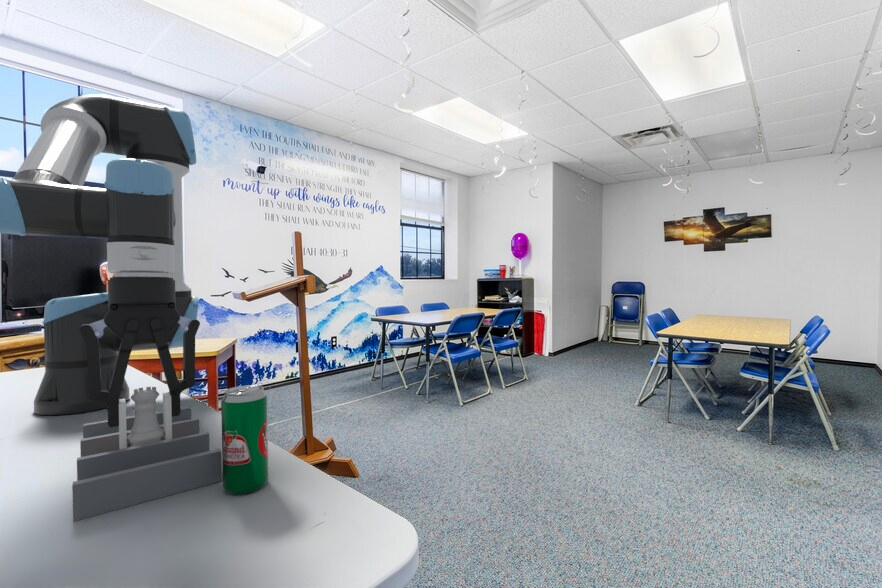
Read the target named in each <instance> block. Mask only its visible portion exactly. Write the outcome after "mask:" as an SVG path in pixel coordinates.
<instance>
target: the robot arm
mask: <svg viewBox="0 0 882 588" xmlns="http://www.w3.org/2000/svg"><path fill="white" fill-rule="evenodd" d="M40 130H41V134H40V135H39V137H38V138H37V140H36V141H35V143H34V145H33V147H32V148H31V149H30V151H29V153H28V154H27V156H26V157H25V158H24V160H23V162H22V163H21V165H20V167H19V169H17V172H16V173H15V174H14V176H13V177H12V178H7V177H5V176H2V177H0V234H8V235H17V236H20V237H26V236H34V237H35V236H38V237H63V238H64V237H66V238H68V237H69V238H89V239H106V240H107V241H106V251H107V252H106V253H107V255H106V256H107V259H106V260H107V272H108V273H110V274H113V275H112V277H110V278H109V279H107V292H101V293H100V292H99V293H90V294H82V295H73V296H65V297H64V296H63V297H56V298H52V299H50V300H48V301H47V302H46V304H45V305H44V310H43V311H44V313H43V321H42V325H43V335H44V336H43V337H44V341H43V342H44V344H43V345H44V364H45V365H44V367H45V368H44V375H43V377H42V379H41V382H40V384H39V388H38V390H37V392H36V395H35V397H34V400H33V413H34V414H37V415H45V416H59V415H69V414H79V413H85V412H86V413H87V412H92V411H97V410H101V409H106V408H107V420H108V425H109V427H116V426H119V449H124V448H127V432H126V417H127V401H128V400H130V398H131V396H130V386H129V385H128V382H127V379H126V378H125V376H126V373H127V369H128V365H129V361H130V358H131V353H132V352H135V351H151V350H156V351H157V353H158V358H159V360H160V365H161V367H162V371H163V374H164V377H165V380H166V381H165V382H166V384H167V388H168V392H162V411H163V428H164V433H165V434H164V438H165V440H169V439H172V417H174V416H179V414H180V412H181V408H182V407H181V395H182V392H183V391H186V390H187V389H192V388H193V387H195V384H196V335H197V332H198V330H199V328H200V326H201V321H199V320H198V319H197V318H198V309H199V301H200V299H199V298H198V297H197V296H195V295H193V296H192V288H190V286H188V285H187V284H186V282H185V281H184V278H185V277H184V239H183V238H184V235H183V233H184V230H183V228H184V227H183V183H182V181H183V177H185V176H186V175H187V174H189V173H190V166H193V165H196V164H197V154H196V153H197V152H196V146H195V137H194V132H193V127H192V122H191V119H190V116H189V115H188V113H187V112H185V110H184V111H183V110H182V109H178V108H173V107H169V106H166V105H164V104H162V105H159V104H156V103H155V104H154V103H149V102H143V101H137V100H132V99H127V98H122V97H115V96H111V95H107V94H85V95H79V96H76V97H75V96H74V97H71V98H68V99H65V100H62V101H59V102H58V103H55V104H54V105H52V106H51V107H49V108H48V110H46V112H45V113H44V114H43V116H42V118H41V120H40ZM101 153H102V154H103V153H104V154H112V155H117V156H124V157H125V158H115V159H112V160H110V161H109V162H108V163H107V164H106V169H105V181H104V183H103V185H104V187H105V188H104V187H94V186H93V187H91V186H84V184H85V182H86V179H87V177H88V174H89V172H90V168H91V166H92V164H93V161H94V159H95V157H96V156H98V155H100V154H101ZM177 348H182V379H181V380H179V379H178V374H177V372H176V369H175V365H174V363H173V359H172V356H171V352H170V350H171V349H177ZM129 397H130V398H129ZM126 400H127V401H126Z"/></svg>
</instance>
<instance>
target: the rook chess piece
mask: <svg viewBox="0 0 882 588" xmlns="http://www.w3.org/2000/svg"><path fill="white" fill-rule="evenodd" d="M159 396H160V393H159V392H158V391H157V387H156V386H152V387H151V386H146V389H144V388H143V387H138V388H135V389H133V393H132V395H131V396H130V399H131V400H132V401H133V402H134V406H133V407H132V409H133V410H134V416H135V418H134V425H133V428H132V430H131V433H130V434H129V435H128V437H127V442H129V444H128V445H127V448H129V447H134V446H139V445H144V444H149V443H154V442H159V441H164V440H165V438H163V435H164V434H165V433H164V431H163V429H161V426H160V425H159V424H158V420H157V415H156V412H157V407H158V403H157V402H156V401H157V399H158V397H159Z"/></svg>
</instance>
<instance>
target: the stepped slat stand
mask: <svg viewBox="0 0 882 588" xmlns="http://www.w3.org/2000/svg"><path fill="white" fill-rule="evenodd" d="M180 408H181V412H180V414H179V416H174V417H172V439H169V440H164V441H159V442H154V443H149V444H144V445H139V446H134V447H129V448H124V449H119V426H116V427H109V425H108V419H107V420H106V419H105V420H101V421H94V422H87V423H83V425H82V429H83V430H82V435H83V438H80V441H79V443H80V449H79V450H80V457H77V458H76V481H72V485H71V486H72V488H71V489H72V491H71V492H72V522H75V521H80V520H83V519H87V518H90V517H95V516H98V515H101V514H105V513H110V512H113V511H117V510H120V509H124V508H127V507H132V506H135V505H138V504H142V503H146V502H149V501H153V500H156V499H159V498H160V499H161V498H163V497H167V496H172V495H175V494H179V493H182V492H186V491H190V490H193V489H196V488H200V487H204V486H208V485H212V484H215V483H219V482H223V479H222V449H220V448H216V449H213V450H210V432H209V431H205V432H200V429H201V428H200V418H199V417H196V418H192V407H191V406H187V407H180ZM156 415H157V420H158V424H159V425H160V426H161V429H163V431H164V428H163V410H161V411H156ZM134 418H135V415H131V416H130V415H129V416H126V432H127V437H128V435H129V434H130V433H131V430H132V428H133V425H134ZM163 438H164V435H163ZM128 444H129V442H127V445H128Z"/></svg>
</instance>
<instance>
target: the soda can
mask: <svg viewBox="0 0 882 588" xmlns="http://www.w3.org/2000/svg"><path fill="white" fill-rule="evenodd" d="M264 390H265V387H264V386H262V385H256V384H251V385H250V384H247V385H237V386H233V387H230V388H227V389H226V390H224V396H223V398H222V399H221V400H220V401H221V402H220V405H221V406H220V408H221V411H220V412H221V413H220V414H221V468H222V488H223V490H224V491H225V492H227V493H228V494H230V495H233V496H237V495H238V496H239V495H241V496H242V495H248V494H250V493H251V494H252V493H254V492H256V491H259V490H260V489H261V488H262V487H264V486H265V484H266V483H267V482H268V481H269V437H268V436H269V435H268V395H267V393H266V392H265V391H264Z"/></svg>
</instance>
